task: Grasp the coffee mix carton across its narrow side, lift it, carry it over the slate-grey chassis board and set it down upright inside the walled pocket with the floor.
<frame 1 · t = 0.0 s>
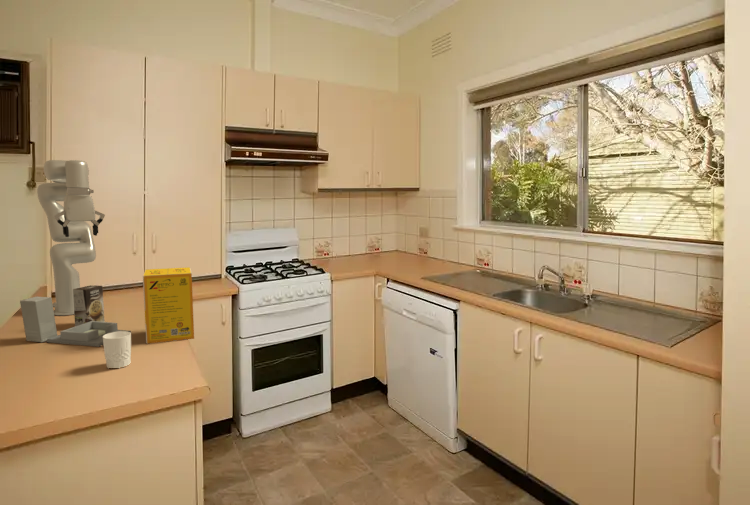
hand: (81, 236, 185), 37 cm above the counter, tool pointing down, fingers open, 9 cm apart
chassis: (90, 337, 176), on the counter
packaging box: (170, 335, 180), on the counter
white cup: (118, 365, 148), on the counter
skincare box: (40, 340, 173), on the counter
coffee box: (90, 326, 192), on the counter
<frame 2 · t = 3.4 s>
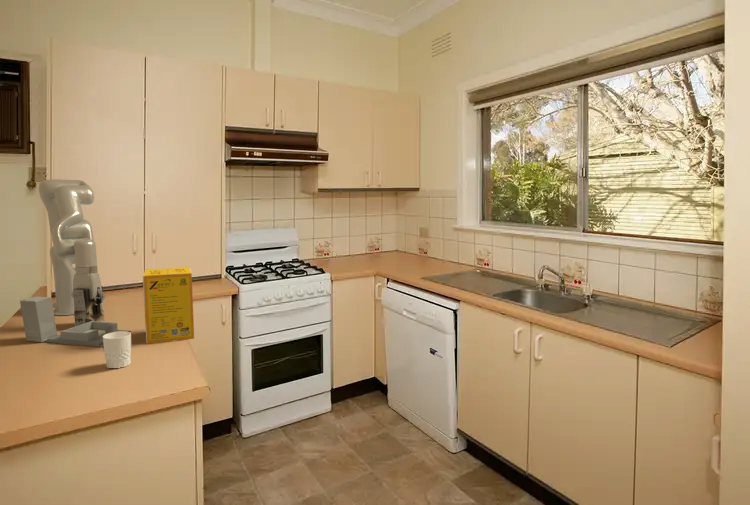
hand: (89, 313, 191), 5 cm above the counter, tool pointing down, fingers closed on coffee box, 6 cm apart
coffee box: (90, 326, 192), on the counter, touching gripper
everything else where it was.
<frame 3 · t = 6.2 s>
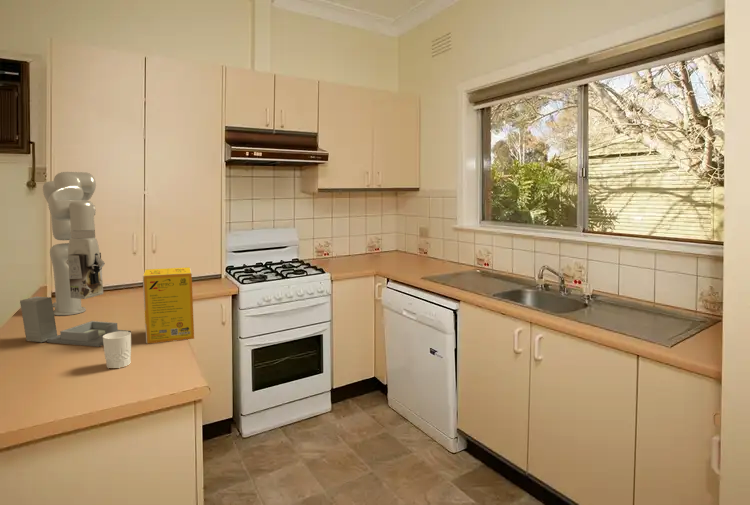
hand: (86, 282, 173), 21 cm above the counter, tool pointing down, fingers closed on coffee box, 6 cm apart
coffee box: (87, 296, 174), point 16 cm above the counter, touching gripper
everything else where it was.
when the fingers open (8 cm above the counter, at t = 9.4 s): coffee box drops 1 cm, resting on chassis.
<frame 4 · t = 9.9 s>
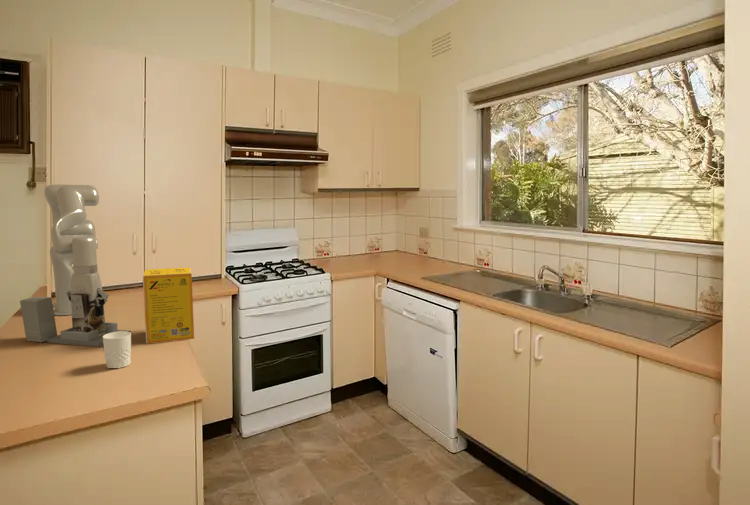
hand: (88, 315, 175), 9 cm above the counter, tool pointing down, fingers open, 9 cm apart
coffee box: (89, 334, 176), point 1 cm above the counter, touching chassis
everything else where it was.
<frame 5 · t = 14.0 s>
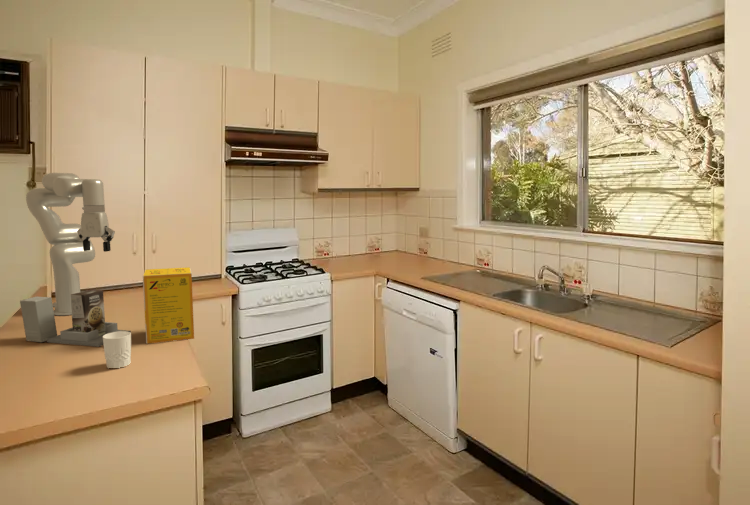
hand: (97, 250, 194), 30 cm above the counter, tool pointing down, fingers open, 9 cm apart
nothing on the counter moved.
at the end: coffee box inside the target area on the chassis (0.2 cm from its centre), point 1.2 cm above the chassis's base; coffee box tilted 0°; the gripper is holding nothing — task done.
